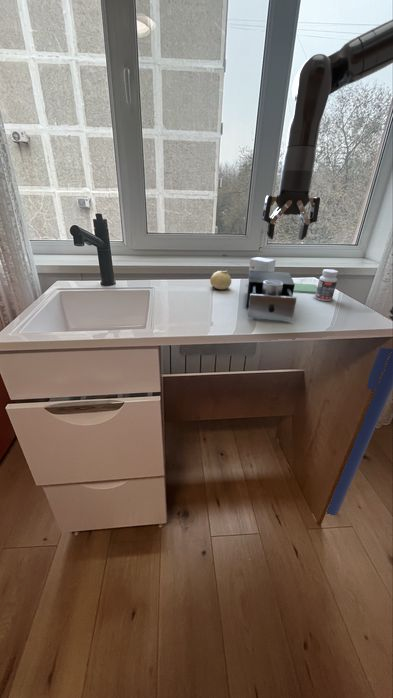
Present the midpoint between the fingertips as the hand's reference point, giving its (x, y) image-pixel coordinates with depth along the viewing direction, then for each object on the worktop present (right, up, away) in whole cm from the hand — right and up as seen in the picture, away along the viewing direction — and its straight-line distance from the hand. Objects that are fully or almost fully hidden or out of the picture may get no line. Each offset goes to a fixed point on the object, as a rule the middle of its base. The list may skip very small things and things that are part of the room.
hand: (285, 239), depth 79 cm
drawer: (-3, -19, +8) cm, 21 cm away
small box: (0, -6, +34) cm, 35 cm away
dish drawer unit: (-1, -14, +18) cm, 23 cm away
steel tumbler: (-3, -18, +7) cm, 20 cm away
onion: (-16, -7, +31) cm, 35 cm away
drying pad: (+17, -7, +32) cm, 37 cm away
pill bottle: (+20, -13, +22) cm, 33 cm away
